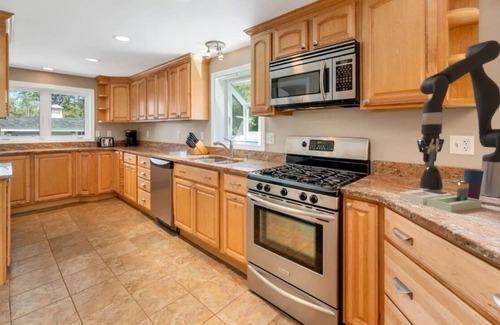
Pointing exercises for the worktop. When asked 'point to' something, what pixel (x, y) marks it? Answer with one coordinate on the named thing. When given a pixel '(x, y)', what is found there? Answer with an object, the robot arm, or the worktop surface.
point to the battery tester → (422, 195)
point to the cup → (473, 182)
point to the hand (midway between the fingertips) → (429, 161)
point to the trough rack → (453, 203)
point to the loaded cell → (462, 191)
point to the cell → (431, 157)
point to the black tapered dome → (431, 179)
